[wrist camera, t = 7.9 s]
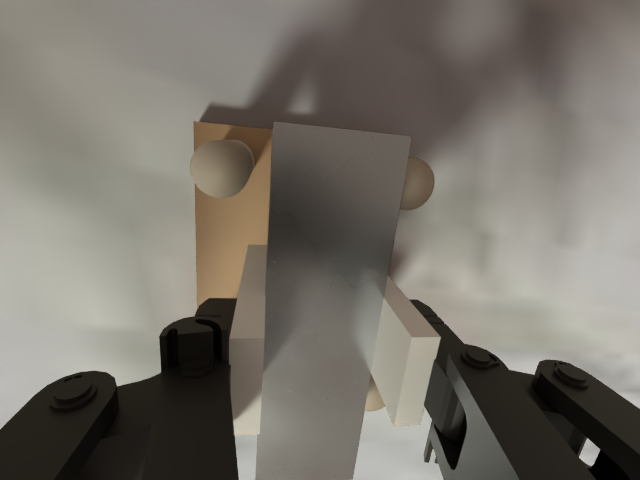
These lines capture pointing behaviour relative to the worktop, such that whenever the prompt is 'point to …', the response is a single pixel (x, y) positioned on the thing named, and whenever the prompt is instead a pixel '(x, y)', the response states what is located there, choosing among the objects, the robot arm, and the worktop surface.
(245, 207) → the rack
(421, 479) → the worktop surface
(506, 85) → the worktop surface
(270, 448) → the bar
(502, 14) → the worktop surface
